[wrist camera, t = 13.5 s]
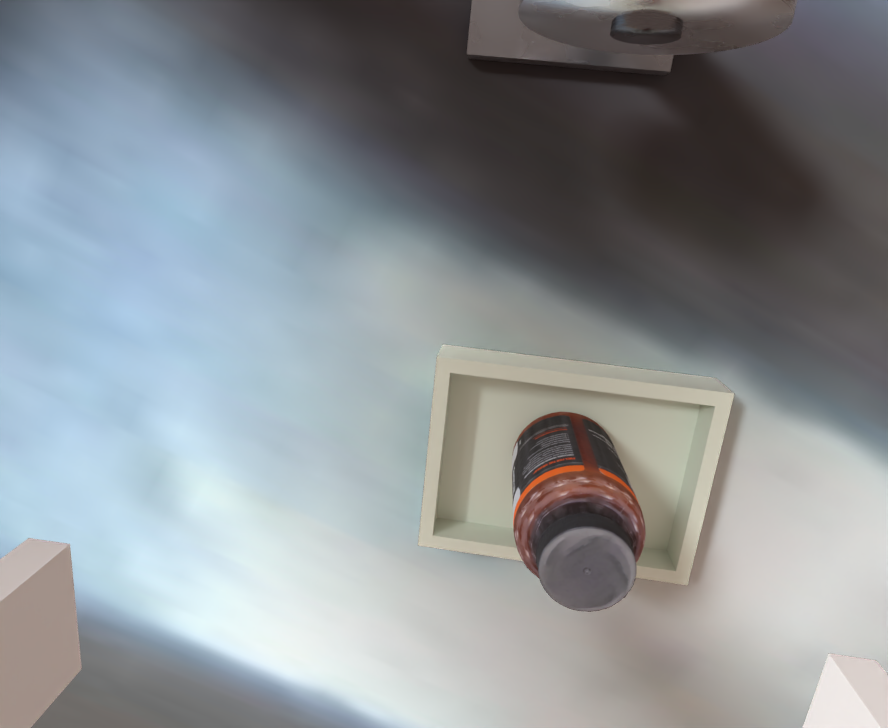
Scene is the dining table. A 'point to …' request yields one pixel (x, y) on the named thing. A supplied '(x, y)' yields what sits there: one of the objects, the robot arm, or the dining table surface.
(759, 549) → the dining table surface
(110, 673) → the dining table surface
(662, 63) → the pulley bracket
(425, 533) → the tray
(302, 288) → the dining table surface
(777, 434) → the dining table surface
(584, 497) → the supplement bottle
